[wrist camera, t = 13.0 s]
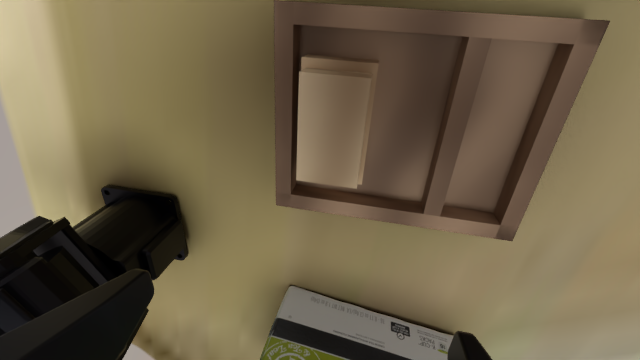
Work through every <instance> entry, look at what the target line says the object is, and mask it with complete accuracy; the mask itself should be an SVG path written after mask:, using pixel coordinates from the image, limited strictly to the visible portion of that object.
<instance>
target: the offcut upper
mask: <svg viewBox="0 0 640 360" xmlns="http://www.w3.org/2000/svg"><path fill="white" fill-rule="evenodd" d="M371 80H372V73H361V72H350V71H338V70H327V69H316V68H304V69H303V70H301V71H299V93H298V133H297V172H296V180H298V181H305V182H312V183H319V184H326V185H333V186H341V187H348V188H355V189H357V184H358V178H359V170H360V163H361V155H362V148H363V140H364V133H365V125H366V117H367V110H368V102H369V95H370V87H371Z"/></svg>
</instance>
